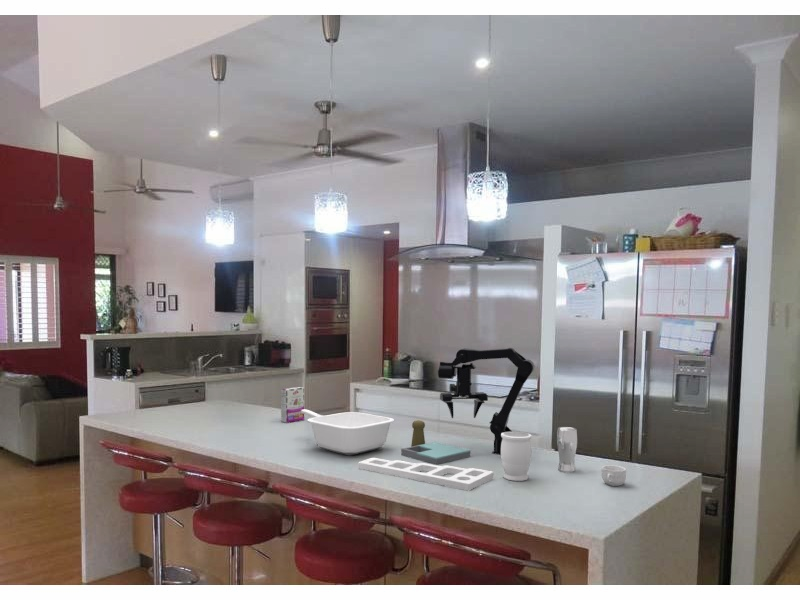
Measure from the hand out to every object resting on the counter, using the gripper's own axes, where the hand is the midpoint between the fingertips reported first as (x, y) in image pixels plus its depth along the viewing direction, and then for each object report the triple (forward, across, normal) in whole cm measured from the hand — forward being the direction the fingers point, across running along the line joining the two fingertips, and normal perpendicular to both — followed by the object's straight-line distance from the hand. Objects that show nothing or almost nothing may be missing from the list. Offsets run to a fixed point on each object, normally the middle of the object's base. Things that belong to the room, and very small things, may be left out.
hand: (463, 418), depth 256 cm
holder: (+14, +22, +32) cm, 42 cm away
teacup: (+13, -37, +53) cm, 66 cm away
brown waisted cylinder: (+13, +17, -6) cm, 23 cm away
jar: (+13, -8, +42) cm, 45 cm away
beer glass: (+13, -29, +35) cm, 47 cm away
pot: (+13, +50, -12) cm, 53 cm away
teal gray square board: (+13, +13, +8) cm, 20 cm away
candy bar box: (+13, +69, -69) cm, 99 cm away
